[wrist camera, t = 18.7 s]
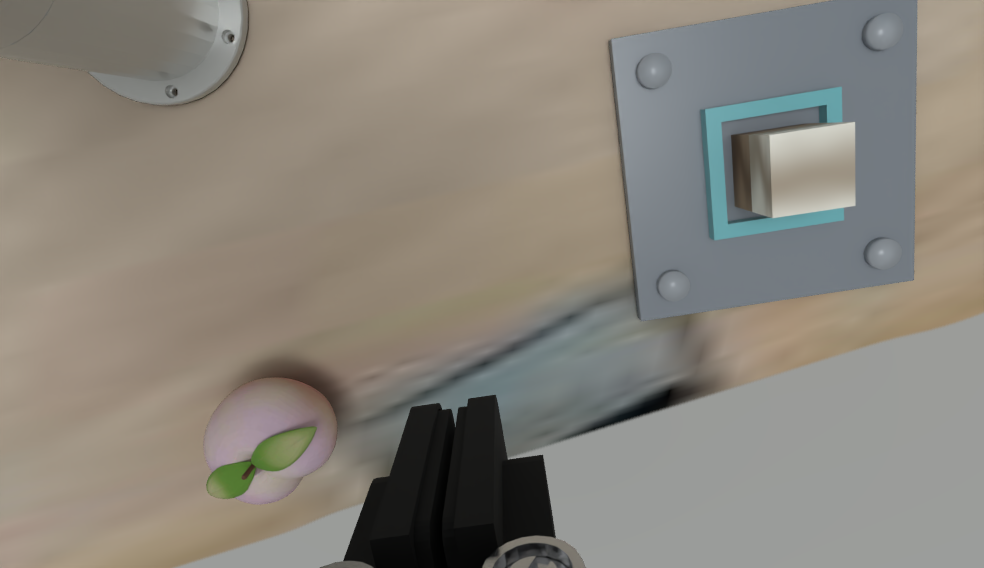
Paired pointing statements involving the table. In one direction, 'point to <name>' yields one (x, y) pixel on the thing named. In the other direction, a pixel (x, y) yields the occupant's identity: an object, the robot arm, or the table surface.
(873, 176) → the baseplate
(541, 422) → the table surface
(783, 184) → the smooth beige block
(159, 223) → the table surface
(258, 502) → the decorative fruit
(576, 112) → the table surface
